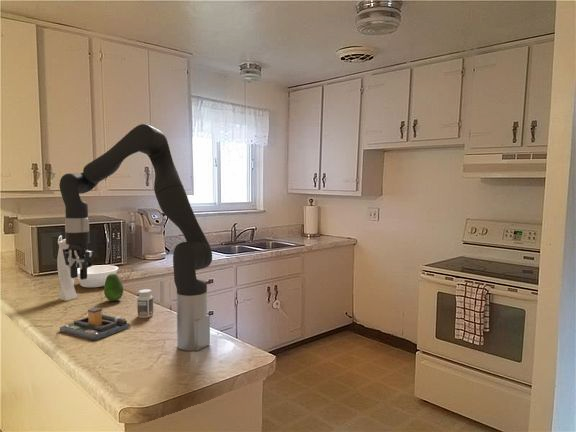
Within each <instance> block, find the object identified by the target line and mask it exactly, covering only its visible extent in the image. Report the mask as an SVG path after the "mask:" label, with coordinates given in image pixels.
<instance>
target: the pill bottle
mask: <svg viewBox="0 0 576 432" xmlns="http://www.w3.org/2000/svg"><path fill="white" fill-rule="evenodd" d="M136 299H137V300H136V301H137V302H136V303H137V317H138V318H140V319H141V318H142V319H143V318H144V319H147V318H150V317H152V316H153V315H154V297H153V295H152V290H151V289H149V288H148V289H147V288H146V289H140V290H138V296H137V298H136Z"/></svg>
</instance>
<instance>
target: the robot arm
mask: <svg viewBox="0 0 576 432" xmlns="http://www.w3.org/2000/svg"><path fill="white" fill-rule="evenodd" d="M139 152H140V153H142V154H145V155H146V156H147V157H148V158H149V160H150V163H151V164H152V167H153V171H154V183H153V184H154V185H153V190H154V194H155V198H156V200H157V203H158V207H159V208H160V210H161V212H162V213H163V214H164V215H165V217H167V218H168V219H169V221H171V222H172V223H173V224H174V225H175V226H176V227H177V228H178V229H179V230H180V232H181V234H182V235H183V237H184V239H185V241H184V242H183V241H182V242H179V243H177V244H176V246H175V247H174V250H173V253H172V265H173V266H172V268H173V278H174V279H173V281H174V284H175V288H176V330H177V331H176V333H177V336H176V338H177V339H176V340H177V348H178V350H181V351H186V352H187V351H188V352H189V351H196V352H198V351H199V352H200V350H202V349H204V348H206V347H208V346H209V345H210V344H211V337H210V336H211V330H210V329H211V328H210V326H211V323H210V322H211V320H210V317H211V316H210V315H209V314H208V284H207V282H206V281H204V280H202V279H197V272H196V271H198V270H202V269H205V268H208V267H210V266H211V264H212V262H213V252H212V248H211V245H210V243H209V241H208V240H207V239H208V238H206V235H205V234H204V232H203V230H202V228H201V226H200V224H199V222H198V220H197V218H196V217H197V216H195V213H194V210H193V208H192V206H191V204H190V203H191V202H190V200H189V198H188V195H187V192H186V190H185V187H184V184H183V182H182V180H181V177H180V176H179V172H178V171H177V168H176V165H175V164H174V160H173V157H172V154H171V149H170V146H169V142H168V139H167V137H166V135H165V134H164V132H162V131H161V130H160V129H158V128H155V127H154V126H152V125H149V124H146V123H141V124H138V125H137V126H135V127H133V128H132V129H131V130H130V131H129V132H128V133H126V134H125V135H124V136H123V137H122V138H121V139H119V141H117V142H116V143H115V144H114V145H113V146H112V147H111V148H110V149H108V150H107V151H105V153H103V154H101V155H100V156H98V157H97V158H95V159H94V160H92V161H90V162H88V163H87V164H86V165H84V167H83V169H82V170H83V171H82V172H80V173H71V172H70V173H65V174H63V175H62V176H61V178H60V180H59V185H58V186H59V192H60V194H61V198H62V200H63V204H64V206H65V223H64V230H65V231H64V233H65V238H64V239H66V244H67V245H69V247H68V248H67V249H63V254H64V259H65V264H66V265H69V267H70V275H71V278H75V279H76V277H78V270H77V268H78V265H79V268H80V279H82V280H83V279H86V278H87V268H88V267H91V266H93V265H92V264H93V260H94V254H95V252H94V250H89V248H88V244H90V243H91V241H90V221H89V207H88V202H86V201H85V200H81V196H80V194H81V195H82V194H86V193H88V192H90V191H92V190H93V189H94V188H95V187H96V186H97V185H98V184H99V183H100V182H102V181H103V180H105V179H108V177H110V176H112V175H114V174H115V173H116V172H117V170H118V169H119V168H120V166H121V165H122V163H123V162H124V160H125V159H127V158H128V157H129V156H132V155H134V154H136V153H139ZM68 258H69V262H68ZM76 266H77V267H76Z"/></svg>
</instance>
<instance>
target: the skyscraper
mask: <svg viewBox="0 0 576 432" xmlns="http://www.w3.org/2000/svg"><path fill="white" fill-rule="evenodd" d="M57 244H58V253H57V260H56V261H57V262H56V263H57V274H58V279H59V283H60V284H59V285H60V291H59V296H58V300H62V301H66V302H68V301H70V300H71V301H72V300H76V299H78V294H77V292H76V287H75V286H74V284H75V282H76V281H75V280H76V278H71V275H70V267H69V265H66V264H65V259H64V254H63V249H67V248H68V247H69V245H67V244H66V239H65V238H64V239H63V235H59V236H58V239H57ZM68 262H69V258H68ZM76 267H77V268H78V265H77V266H76Z"/></svg>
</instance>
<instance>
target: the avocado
mask: <svg viewBox="0 0 576 432" xmlns="http://www.w3.org/2000/svg"><path fill="white" fill-rule="evenodd" d="M103 293H104V296H105V298H106V299H107V301H110V302H117V301H119V300H121V298H122V296H123V295H124V285H123V283H122V281H121V280H120V278H119V276H118V274H117V273H116V274H110V275H108V276H107V278H106V281H105V286H103Z"/></svg>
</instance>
